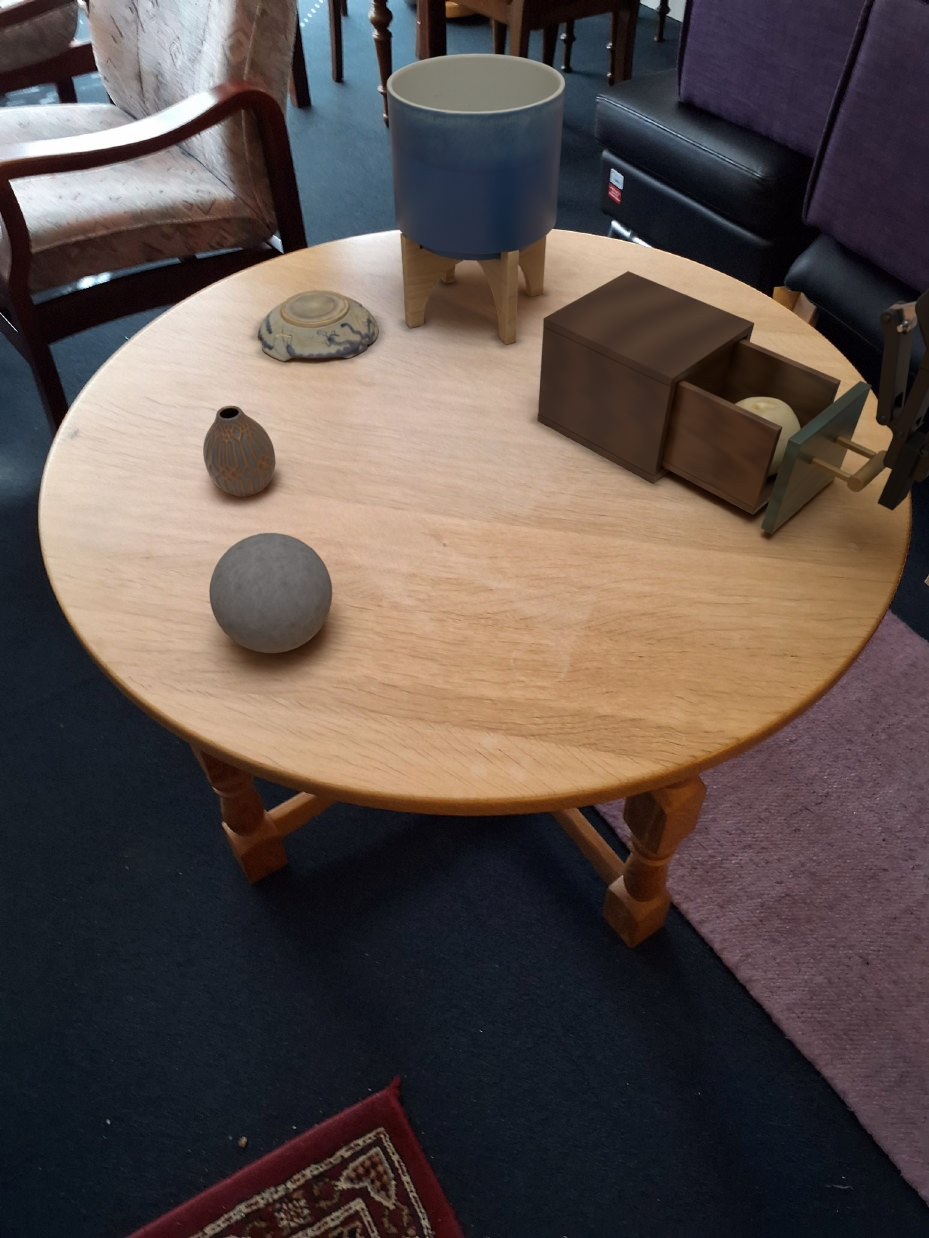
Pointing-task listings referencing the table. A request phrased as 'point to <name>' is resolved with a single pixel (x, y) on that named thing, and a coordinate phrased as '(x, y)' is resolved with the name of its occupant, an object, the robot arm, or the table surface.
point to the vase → (238, 453)
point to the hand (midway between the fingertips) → (892, 499)
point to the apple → (776, 414)
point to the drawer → (764, 432)
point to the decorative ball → (270, 592)
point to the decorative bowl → (317, 327)
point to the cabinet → (627, 366)
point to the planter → (475, 173)
